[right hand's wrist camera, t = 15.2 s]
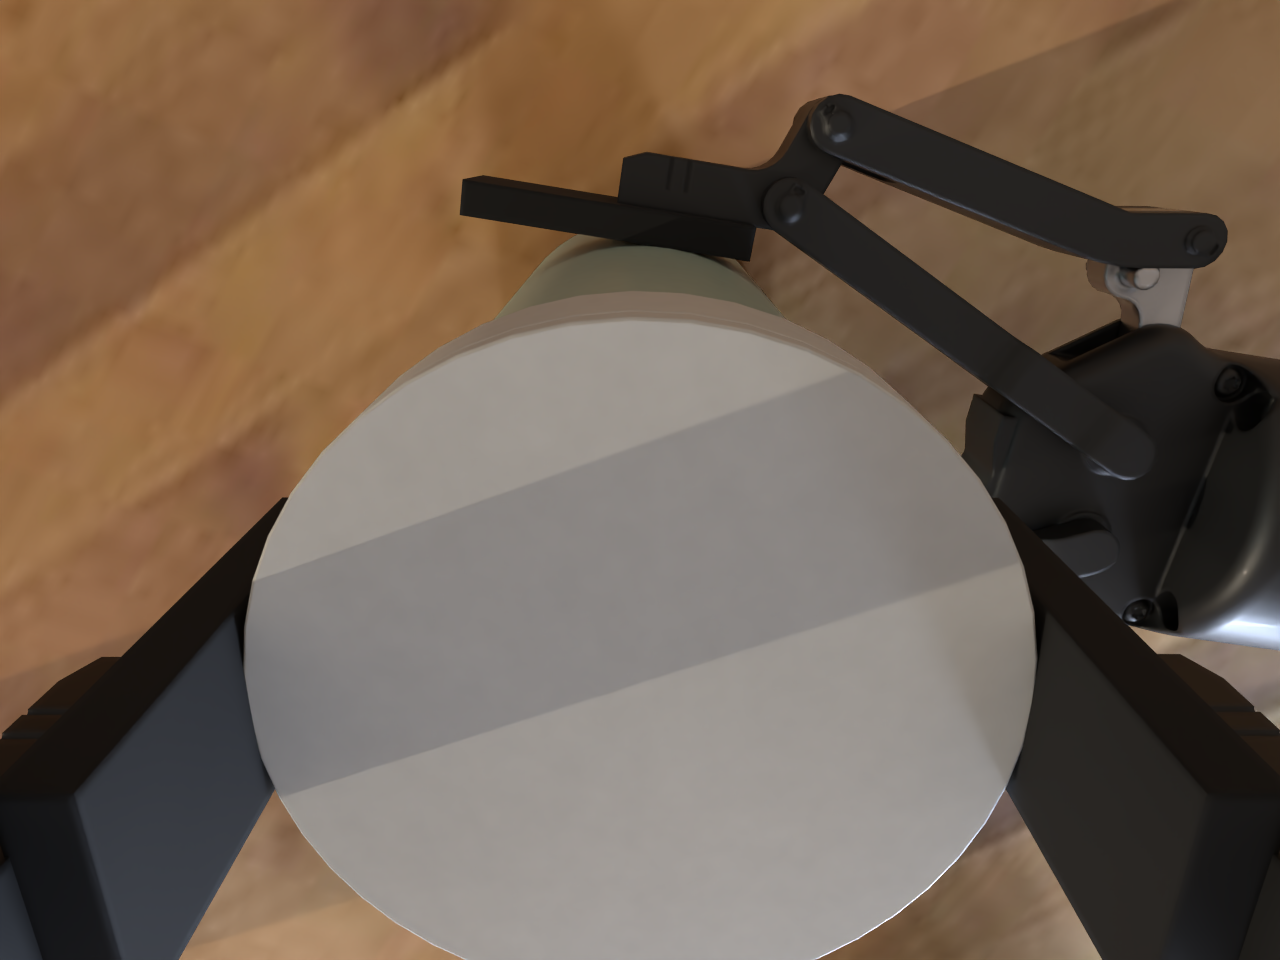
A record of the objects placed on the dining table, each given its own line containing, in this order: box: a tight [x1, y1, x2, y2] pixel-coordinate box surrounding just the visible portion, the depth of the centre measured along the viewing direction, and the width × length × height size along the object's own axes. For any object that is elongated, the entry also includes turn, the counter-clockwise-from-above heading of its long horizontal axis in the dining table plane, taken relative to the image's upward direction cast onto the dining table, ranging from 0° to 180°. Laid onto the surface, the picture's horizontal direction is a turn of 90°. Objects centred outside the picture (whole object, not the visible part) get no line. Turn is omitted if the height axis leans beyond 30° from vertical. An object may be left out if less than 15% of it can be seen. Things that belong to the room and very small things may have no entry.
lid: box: [243, 291, 1037, 960], centre depth 11 cm, size 9×10×2 cm
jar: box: [494, 234, 785, 320], centre depth 20 cm, size 8×8×18 cm
